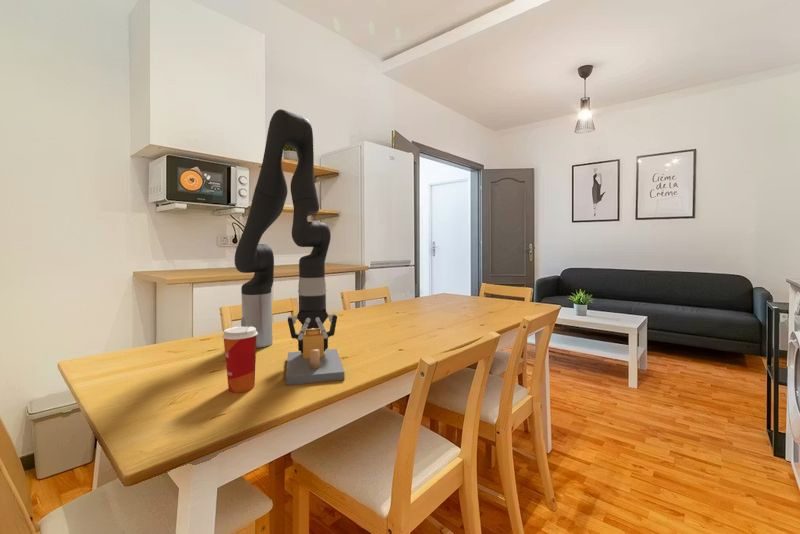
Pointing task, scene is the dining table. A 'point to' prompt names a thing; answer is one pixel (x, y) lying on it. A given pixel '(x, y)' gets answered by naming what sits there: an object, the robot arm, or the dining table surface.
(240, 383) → the paper cup
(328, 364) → the board
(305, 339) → the orange toy brick
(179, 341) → the dining table surface
